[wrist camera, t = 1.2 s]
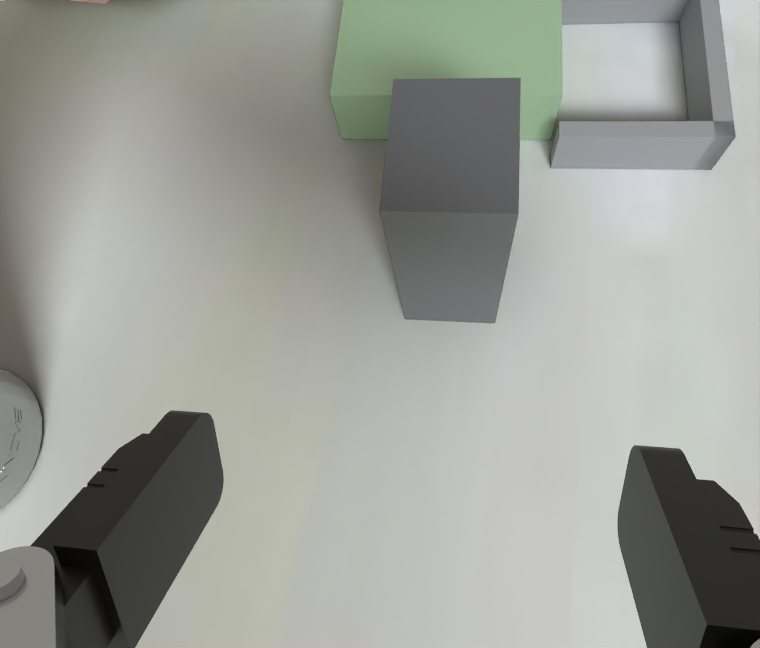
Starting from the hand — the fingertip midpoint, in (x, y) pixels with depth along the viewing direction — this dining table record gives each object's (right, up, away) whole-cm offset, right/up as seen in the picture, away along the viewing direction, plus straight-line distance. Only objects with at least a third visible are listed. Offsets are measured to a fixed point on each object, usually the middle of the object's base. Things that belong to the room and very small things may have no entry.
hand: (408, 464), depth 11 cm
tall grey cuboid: (+4, +6, +22) cm, 23 cm away
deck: (+9, +22, +27) cm, 35 cm away
